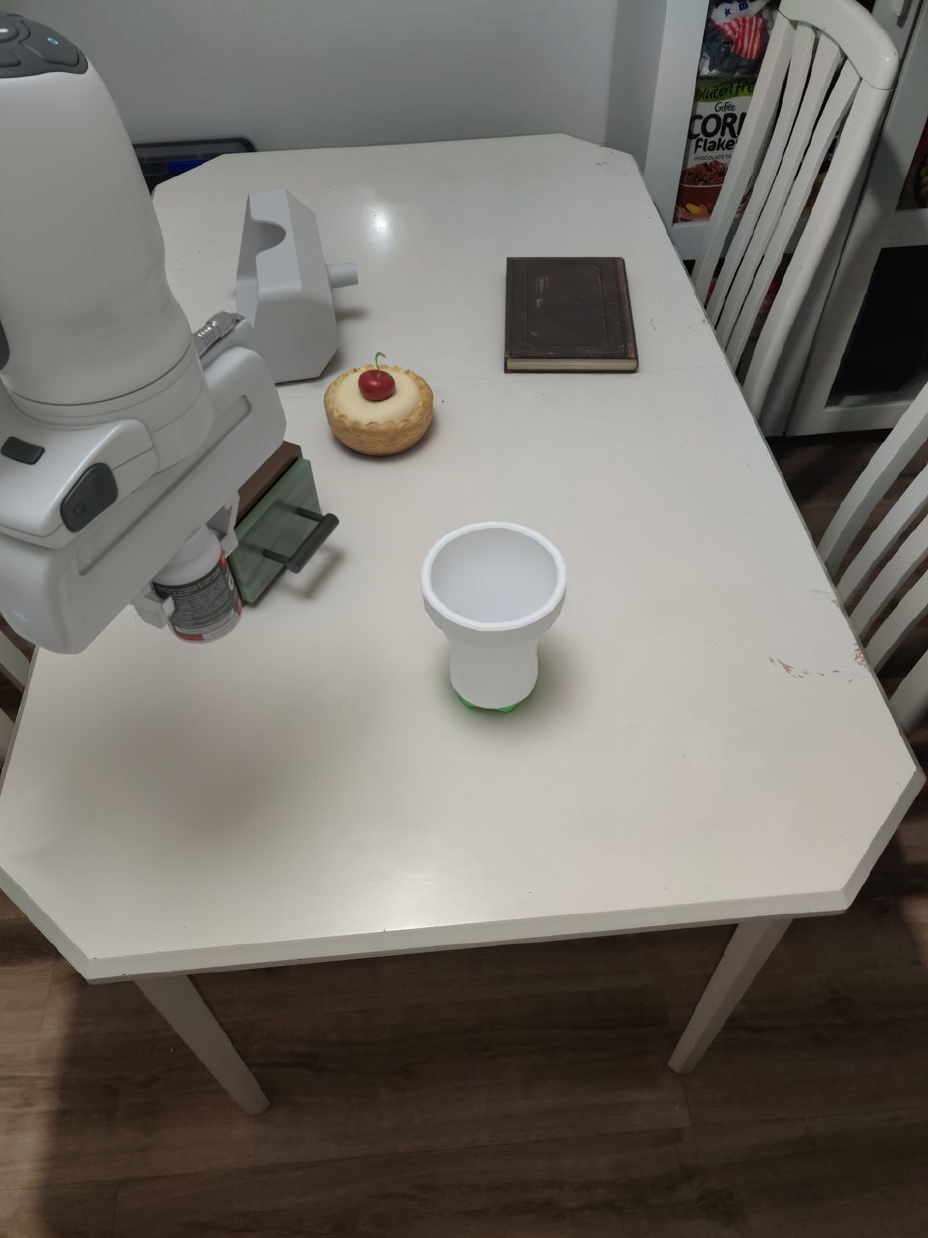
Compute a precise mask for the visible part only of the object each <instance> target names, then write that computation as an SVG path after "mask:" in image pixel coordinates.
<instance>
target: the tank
mask: <svg viewBox="0 0 928 1238" xmlns="http://www.w3.org/2000/svg"><path fill="white" fill-rule="evenodd" d="M320 237H321V236H320V232H319V227H318V223H317V217H316V213H315V212H313V211H312V210H311V209H310V208H309V207H308V206H306V205H305V204H304V203H303V202H302V201H300V199H298V198H297V197H296V196H295V195H294V194H292V193H291V192H290V191H289V190H288V189H287V188H279V189H271V190H264V191H263V190H262V191H255V192H248V194H247V199H246V205H245V212H244V220H243V226H242V234H241V241H240V248H239V256H238V262H237V268H236V269H237V270H236V276H235V277H236V278H235V301H236V311H237V312H236V313H239V314H241V315H242V316H244V317H245V319H246V320H248V321H249V322H250V324H251V326H252V328H253V332H254V336H255V341H256V345H257V350H258V354H259V355H260V356H261V357H262V358H263V360H264V361H265V363H266V365H267V367H268V369H269V371H270V374H271V376H272V379H273V381H274V384H279V383H286V382H287V383H288V382H293V381H300V380H306V379H307V380H308V379H313V378H319V377H320V375H321V374H322V372H323V371H324V369H325V368H326V367H327V365H328V363H329V362H330V361H331V359H332V358H333V356H334V354H335V353H336V352H337V350H338V348H339V347H340V340H339V333H338V326H337V321H336V320H337V319H336V314H335V309H334V301H333V297H332V292H331V290H334V289H338V288H344V287H350V286H357V285H359V277H358V271H357V265H356V262H344V263H334V264H328V263H326V262H325V256H324V251H323V247H322V242H321V238H320Z"/></svg>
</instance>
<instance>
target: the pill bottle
mask: <svg viewBox="0 0 928 1238" xmlns="http://www.w3.org/2000/svg"><path fill="white" fill-rule="evenodd" d="M149 584H150V586H151V587H154V588H155V589H157V590H158V592H159V591H162V592H165V593H168V594H171V595H172V597H173V599H174V602H175V603H174V606H176V607H177V609H178V611H177V612H176V613H175V615H174V616H173V617H172V618H171V619H170V620H169V621H168V623H167V624H166V625H167V626H168V628H169V629H170V631H171V632H172V634H173V635H174V636H175V637H176V638H177V639H178V640H181V641H183V642H184V643H187V644H194V645H204V644H209V643H212V642H215V641H219V640H220V639H222V638H224V637H226V636H227V635H229V634H230V633H231V632H233V631H234V629H235V628H236V627H237V626H238V624H239V623H240V620H241V619H242V613H243V607H242V605H241V601H240V598H239V595H238V593H237V590H236V587H235V584H234V582H233V579H232V576H231V573H230V570H229V567H228V565H227V562H226V559H225V556H224V553H223V550H222V548H221V545H220V542H219V540H218V539H217V537H216V536H215V534H214V533H213V532H212V531H210V530H209V529H208V528H207V526H206V524H205V525H202V526H201V527H200V528H199V529H198V530H197V531H196V532H195V533H194V534H193V535H192V536H191V537H190V538H189V539H188V540H187V541H186V542H185V544H184V545H183V547H182V548H181V550H180V551H179V552H178V553H177V554H176V555H175V556H174V557H173V558H172V559H171V560H170V561H169V562H168V563H167V564H166V565H165V566H164V567H163V568H162V570H161V571H160V572H159V573H158V574H157V575H156V576H155V577H154V578H153V579H152V580H151V581H150V582H149Z"/></svg>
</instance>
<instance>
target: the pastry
mask: <svg viewBox="0 0 928 1238" xmlns="http://www.w3.org/2000/svg"><path fill="white" fill-rule="evenodd" d="M379 356H381V357H384V358H385V359H387V356H386V355H385V354H384V353H382V352H380V351H377V352H376V353H375V356H374V363H375V365H373V364H371V363H369V364H366V365H364V366H361V367H352V368H351V369H350V370H349V371H347V372H342V373H340V375H339V376H338V377H336V378H335V379H334V380H332V381H331V383H330V384H329V385H328V386H327V388H326V390H325V392H324V395H323V407H324V411H325V416H326V419H327V423H328V425H329V428H330V429H331V431H332V432H333V433H334V435H335V436H336V438H338V440H339V441H341V442H342V443H343V444H344V445H345V446H346V447H348V448H349V449H350V450H353V451H355V452H357V453H360V454H364V455H368V456H390V455H394V454H395V455H396V454H399V453H402V452H404V451H407V450H409V449H410V448H412V447H413V446H415V445H416V444H417V443H418V442H419V441H420V439H422V438H423V436H424V434H426V432H427V430H428V428H429V426H430V423H431V421H432V417H433V409H434V393H433V390H432V387H431V386H430V384H429V383H428V382H427V381H426V380H425V379H424V378H423V377H422V376H420V375H418V374H416V373H415V372H414V371H413V370H411V369H406V370H405V369H403V368H402V367H401V366H398V365H394V366H393V367H390V366H388V365H387V364H383V363H382V364H378V358H379Z"/></svg>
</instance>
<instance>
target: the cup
mask: <svg viewBox="0 0 928 1238" xmlns="http://www.w3.org/2000/svg"><path fill="white" fill-rule="evenodd" d="M419 578H420V587H421V593H422V595H421V596H422V600H423V607H424V610H425V612H426V614H427V615H428V617H429V619H431V621H432V622H433V624H434V625H435V626H436V627H437V628H438V629H439V630H440V631H441V632H442V633H443V634H444V636H445V638H446V640H447V642H448V644H449V648H450V649H449V650H450V655H449V664H448V665H449V666H448V667H449V678H450V683H451V685H452V687H453V689H454V691H455V692H456V693H457V695H458V697H459V698H460V699H461V701H462V702H463V704H464V705H466V706H467V707H469V708H471V707H472V708H473V707H474V708H475V707H477V708H482V709H491V710H497V711H500V712H504V713H508V712H511V711H512V710H513V709H514V708H515V707H517V706H518V705H519V704H520V703H521V702H522V701H523V700H524V699H525V698H527V697H528V696H529V695H530V694H531V692H533V690H534V688H535V687H536V685H537V680H538V672H539V671H538V670H539V659H538V654H537V652H538V646H539V643H540V641H541V639H542V636H543V635H544V634H545V633H546V632H547V631H549V630H550V629H551V628H552V626H554V624H555V622H556V621H557V620H558V618H559V616H560V615H561V612H562V609H563V606H564V604H565V601H566V594H567V586H568V567H567V563H566V561H565V558H564V554H563V553H562V552H561V551H560V550H559V548H558V547H557V546H556V545H555V544H554V543H553V542H552V541H551V540H550V539H548V538H546V536H544V535H543V534H542V533H540V532H538V531H536V530H533V529H532V528H530V527H527V526H525V525H521V524H517V523H514V522H510V521H484V522H483V521H482V522H476V523H471V524H470V523H469V524H467V525H464V526H462V527H459V528H457V529H454V530H452V531H449V532H448V533H447V534H445V535H444V536H443V535H442V537H440V538H438V539H437V540H436V541H435V543H434V544H433V545H432V546H431V547H430V549H429V550H428V552H427V553H426V556H425V557H424V560H423V561H422V563H421V570H420V577H419Z"/></svg>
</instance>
